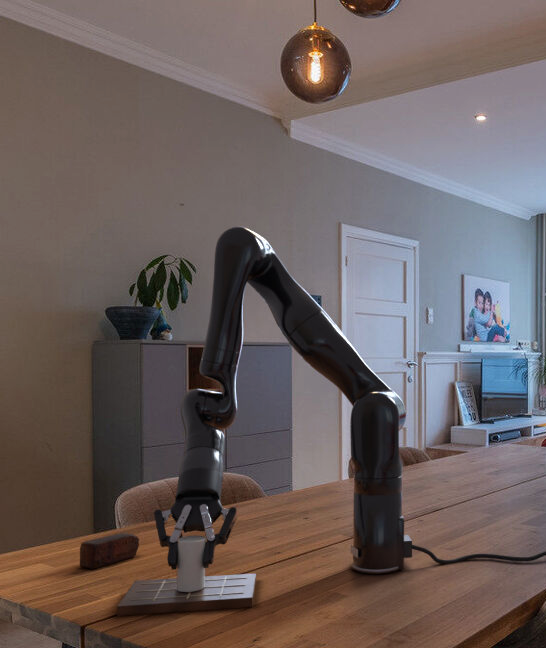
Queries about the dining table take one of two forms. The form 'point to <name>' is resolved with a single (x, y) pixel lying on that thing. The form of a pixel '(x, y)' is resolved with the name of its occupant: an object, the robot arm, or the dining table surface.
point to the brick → (108, 550)
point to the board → (188, 595)
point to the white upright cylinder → (190, 563)
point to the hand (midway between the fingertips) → (190, 565)
